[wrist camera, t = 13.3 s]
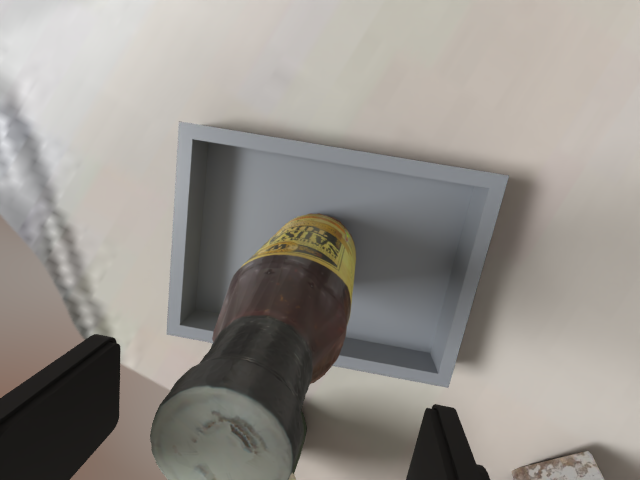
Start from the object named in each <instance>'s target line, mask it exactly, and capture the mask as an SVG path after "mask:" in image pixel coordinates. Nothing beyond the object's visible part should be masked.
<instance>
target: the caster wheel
mask: <svg viewBox="0 0 640 480" xmlns="http://www.w3.org/2000/svg"><path fill="white" fill-rule="evenodd" d="M512 475H513V478H514V480H604V478H603V476H602V474H601V472H600V470H599V468H598V466H597V464H596V462H595V460H594V458H593V456H592V454H591V453H590V452H588V451H585V452H581V453H577V454H573V455H569V456H564V457H560V458H556V459H552V460H548V461H544V462H540V463H536V464H532V465H528V466H524V467H520V468H517V469H515V470H513V471H512Z"/></svg>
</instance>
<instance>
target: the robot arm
mask: <svg viewBox="0 0 640 480" xmlns="http://www.w3.org/2000/svg"><path fill="white" fill-rule="evenodd" d="M119 387H120V345H119V344H117V343H116V340H115V339H114V338H112V337H107V336H103V335H98V334H94V335H92V336H90V337H89V338H87V339H86V340H84V341H83V342H82V343H80V344H79V345H77V346H76V347H74V348H73V349H71V350H70V351H68V352H67V353H66V354H65V355H63V356H61V357H60V358H58V359H57V360H55V361H54V362H52V363H51V364H50V365H48V366H47V367H45V368H44V369H42V370H41V371H39V372H38V373H36V374H35V375H34V376H32V377H31V378H29V379H28V380H26V381H25V382H23V383H22V384H21V385H19V386H18V387H16V388H15V389H13V390H12V391H10V392H9V393H7V394H6V395H4V396H3V397H2V398H0V480H70V479H71V477H72V476H73V475H74V474H75V473H76V472H77V471H78V469H79V468H80V467H81V466H82V465H83V464H84V463H85V462H86V460H87V459H88V458H89V457H90V456H91V455H92V454H93V453H94V451H95V450H96V449H97V448H98V447H99V446H100V444H102V442H103V441H104V440H105V439H106V438H107V436H109V434H110V433H111V432H112V431H113V430H114V428H115V427H116V424H117V422H118V419H119V389H120V388H119ZM406 480H490V478H489V475H488V473H487V471H486V469H485V468H484V467H483V466H482V465H477V464H476V463H475V460H474V457H473V454H472V452H471V449H470V446H469V444H468V441H467V438H466V436H465V433H464V430H463V428H462V425H461V422H460V420H459V417H458V414H457V412H456V410H455V409H454V408H451V407H446V406H441V405H436V404H435V405H433V407H432V409H430V408H426V410H425V413H424V417H423V420H422V424H421V427H420V431H419V435H418V438H417V442H416V446H415V449H414V453H413V457H412V460H411V464H410V467H409V471H408V475H407V478H406Z"/></svg>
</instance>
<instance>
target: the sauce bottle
mask: <svg viewBox="0 0 640 480" xmlns="http://www.w3.org/2000/svg"><path fill="white" fill-rule="evenodd" d="M355 264H356V249H355V245H354V241H353V238H352V236H351V234H350V233H349V231H348V230H347V228H346V227H345V226H344V225H343V224H342V223H341V222H340V221H339V220H337V219H335V218H333V217H330V216H327V215H322V214H320V213H318V214H312V213H311V214H307V215H303V216H299V217H296V218H294V219H292V220H290V221H289V222H288V223H286V224H285V225H284V226H283V227H282V228H281V229H280V230H279V231H278V232H277V233H276V234H275V235H274V236H273V237H272V238H270V239H269V240H268V241H267V242H266V243H265V244H264V245H263V246H262V247H261V248H260V249H259V250H258V251H257V252H256V253H255V254H254V255H253V256H252V257H251V258H250V259H249V260H248V261H247V262H245V263H244V264H243V266H242V267H241V268H240V269H239V270H238V271H237V272H236V273H235V274H234V276H233V278H232V280H231V282H230V285H229V288H228V291H227V294H226V297H225V300H224V303H223V305H222V308H221V311H220V314H219V317H218V320H217V323H216V326H215V329H214V331H213V337H212V340H213V344H212V347H211V349H210V351H209V352H208V353H207V354H206V355H205V356H204V358H203V360H202V361H201V362H200V364H198V365H196V366H194V367H192V368H191V369H190V370H188V371H187V372H186V373H185V374H184V375H183V376H182V377H181V378H180V379H179V380H178V381H177V382H176V383H175V385H174V386H173V388H172V389H171V391H170V393H169V394H168V395H167V396H166V398H165V399H164V400H163V402H162V403H161V404H160V406H159V408H158V410H157V412H156V415H155V418H154V420H153V423H152V429H151V434H150V439H151V444H152V453H153V455H154V458H155V460H156V463H157V465H158V467H159V468H160V470H161V471H162V473H163V474H164V475H165V476H166V478H167V479H168V480H289V478H290V475H291V474H292V472H293V468H294V465H295V463H296V459H297V456H298V453H299V450H300V446H301V444H302V440H303V436H304V426H303V420H302V414H301V408H302V405H303V401H304V399H305V394H306V393H307V390H308V387H309V385H310V384H311V383H314V382H315V381H317V380H318V379H320V378H321V377H322V376H324V375H325V373H326V372H327V371H328V370H329V369H330V367H331V366H332V365H333V364H334V363H335V362H336V360H337V359H338V357H339V354H340V352H341V348H342V346H343V342H344V340H345V337H346V330H347V325H348V322H349V318H350V313H351V304H352V293H353V285H354V274H355Z"/></svg>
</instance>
